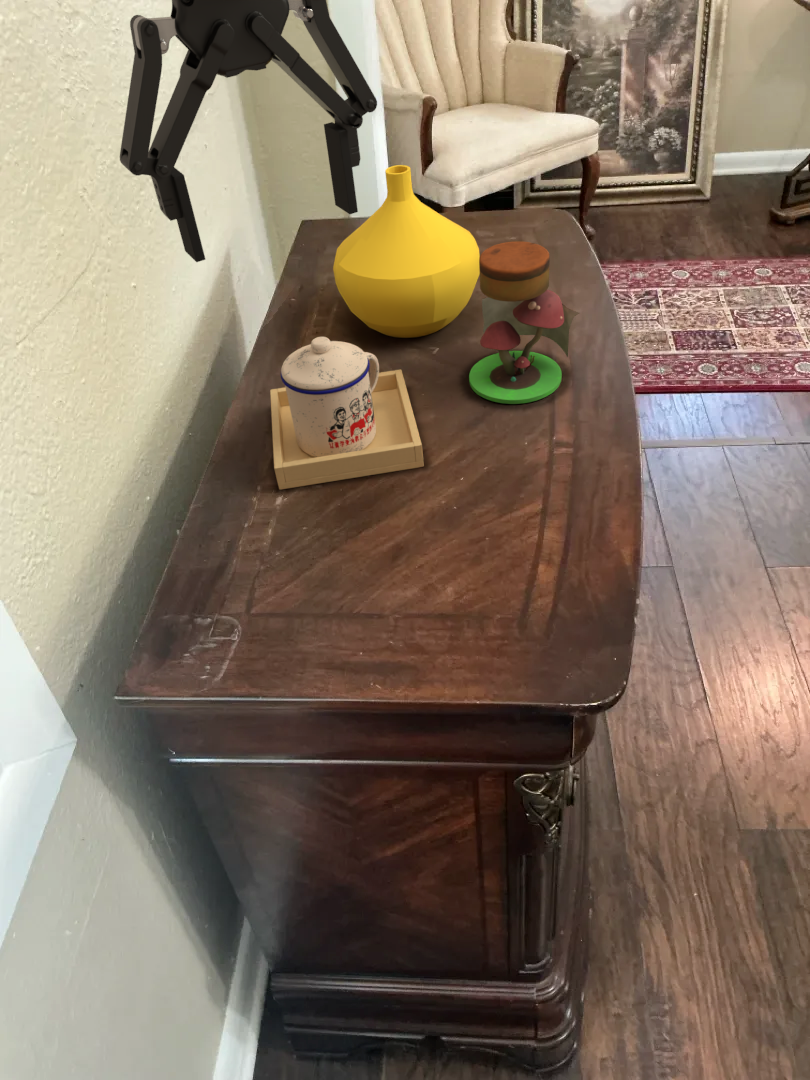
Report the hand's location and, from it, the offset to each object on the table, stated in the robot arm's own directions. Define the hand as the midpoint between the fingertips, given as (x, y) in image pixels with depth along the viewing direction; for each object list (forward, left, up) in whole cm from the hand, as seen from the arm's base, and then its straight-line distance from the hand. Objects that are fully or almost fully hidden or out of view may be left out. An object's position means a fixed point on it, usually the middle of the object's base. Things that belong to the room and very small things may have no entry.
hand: (273, 231), depth 71 cm
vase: (+14, +32, -27) cm, 44 cm away
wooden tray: (+3, +8, -27) cm, 28 cm away
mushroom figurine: (+24, +14, -27) cm, 39 cm away
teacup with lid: (+3, +8, -26) cm, 28 cm away
